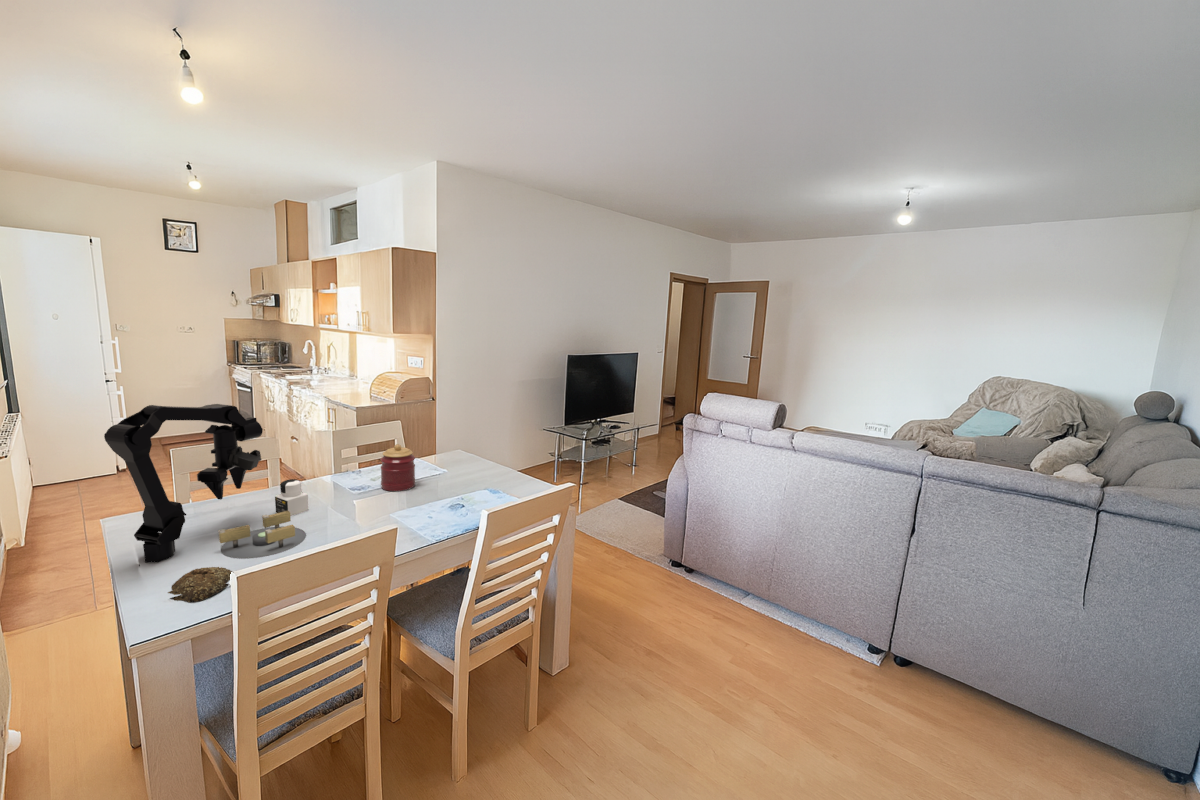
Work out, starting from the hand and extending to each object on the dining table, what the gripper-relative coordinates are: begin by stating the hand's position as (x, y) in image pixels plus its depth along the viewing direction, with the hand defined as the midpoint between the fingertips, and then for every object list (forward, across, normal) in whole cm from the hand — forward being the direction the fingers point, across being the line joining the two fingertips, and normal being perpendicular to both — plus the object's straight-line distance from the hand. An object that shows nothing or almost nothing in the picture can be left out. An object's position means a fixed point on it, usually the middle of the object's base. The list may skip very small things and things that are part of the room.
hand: (229, 493), depth 152 cm
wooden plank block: (+11, -3, -15) cm, 19 cm away
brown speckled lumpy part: (+12, -34, -12) cm, 38 cm away
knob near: (+11, -14, -21) cm, 27 cm away
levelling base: (+12, -10, -15) cm, 22 cm away
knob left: (+11, -14, -9) cm, 20 cm away
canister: (+12, +42, -39) cm, 58 cm away
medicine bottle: (+12, +13, -12) cm, 21 cm away
